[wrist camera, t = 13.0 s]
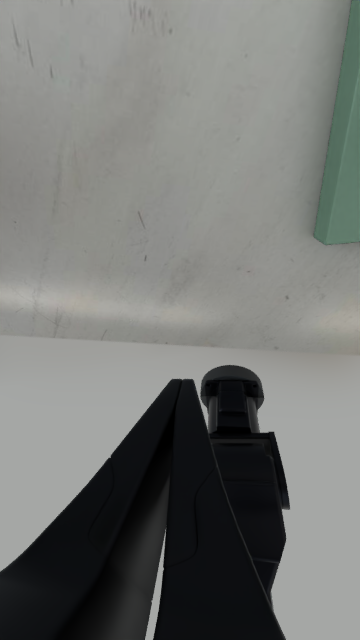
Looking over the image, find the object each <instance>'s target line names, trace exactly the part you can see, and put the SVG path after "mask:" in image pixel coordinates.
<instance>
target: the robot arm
mask: <svg viewBox="0 0 360 640" xmlns="http://www.w3.org/2000/svg"><path fill="white" fill-rule="evenodd" d="M254 384H255V385H254ZM205 394H206V402H207V410H208V414H209V416H208V429H207V426H206V423H205V419H204V415H203V412H202V409H201V405H200V401H199V398H198V395H197V391H196V387H195V384H194V380H193V379H183V380H182V379H172V380H171V381H170V382H169V383H168V384H167V386H166V387H165V388H164V389H163V391H162V392H161V393H160V395H159V396H158V397H157V398H156V399H155V401H154V402H153V403H152V404H151V406H150V407H149V408H148V409H147V411H146V412H145V413H144V414H143V416H142V417H141V418H140V420H139V421H138V422H137V423H136V424H135V426H134V427H133V428H132V429H131V431H130V432H129V433H128V435H127V436H126V437H125V438H124V440H123V441H122V442H121V443H120V445H119V446H118V447H117V448H116V450H115V451H114V452H113V453H112V455H111V458H108V459H107V461H106V462H105V463H104V465H103V466H102V467H101V468H100V469H99V471H98V472H97V473H96V474H95V476H94V477H93V478H92V479H91V480H90V481H89V483H88V484H87V485H86V486H85V487H84V488H83V489H82V491H81V492H80V493H79V494H78V495H77V496H76V497H75V498H74V499H73V500H72V502H71V503H70V504H69V505H68V506H67V507H66V508H65V509H64V510H63V511H62V512H61V513H60V514H59V515H58V516H57V517H56V519H55V520H54V521H53V522H52V523H51V524H50V525H49V526H48V527H47V528H46V529H45V530H44V531H43V532H42V533H41V535H40V536H39V537H38V538H37V539H36V540H35V541H34V542H33V543H32V544H31V545H30V546H29V547H28V548H27V549H26V550H25V551H24V552H23V553H22V554H21V555H20V556H19V557H18V558H17V559H16V560H14V561H13V562H12V563H11V564H10V565H8V566H7V567H6V568H5V569H3V570H2V571H1V572H0V640H145V636H146V631H147V625H148V621H149V615H150V610H151V605H152V602H151V601H152V598H153V594H154V588H155V583H156V578H157V572H158V567H159V562H160V556H161V551H162V546H163V541H164V535H165V530H166V538H165V551H164V564H163V567H164V570H163V578H162V588H161V597H160V605H159V612H158V617H157V622H156V628H155V633H154V638H153V640H286V639H285V636H284V634H283V632H282V630H281V628H280V625H279V623H278V621H277V619H276V617H275V614H274V610H273V602H272V595H271V589H272V585H273V582H274V579H275V575H276V572H277V569H278V566H279V563H280V560H281V557H282V552H283V549H284V546H285V542H286V533H285V527H284V521H283V515H282V509H288V510H289V509H290V505H289V496H288V491H287V484H286V479H285V474H284V469H283V465H282V461H281V457H280V454H279V450H278V446H277V442H276V438H275V435H274V432H269V433H260V430H259V424H258V418H257V410H258V394H259V384H258V382H257V381H254V380H206V381H205Z"/></svg>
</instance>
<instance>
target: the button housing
mask: <svg viewBox="0 0 360 640" xmlns="http://www.w3.org/2000/svg"><path fill="white" fill-rule="evenodd" d="M314 238H316V239H317V240H319V241H320V242H322V243H323V244H325V245H332V244H342V243H353V242H360V0H352V3H351V9H350V16H349V22H348V28H347V34H346V40H345V46H344V53H343V59H342V65H341V71H340V77H339V84H338V90H337V96H336V102H335V108H334V114H333V121H332V127H331V133H330V139H329V145H328V151H327V158H326V164H325V170H324V176H323V182H322V189H321V195H320V201H319V207H318V213H317V219H316V226H315V232H314Z"/></svg>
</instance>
